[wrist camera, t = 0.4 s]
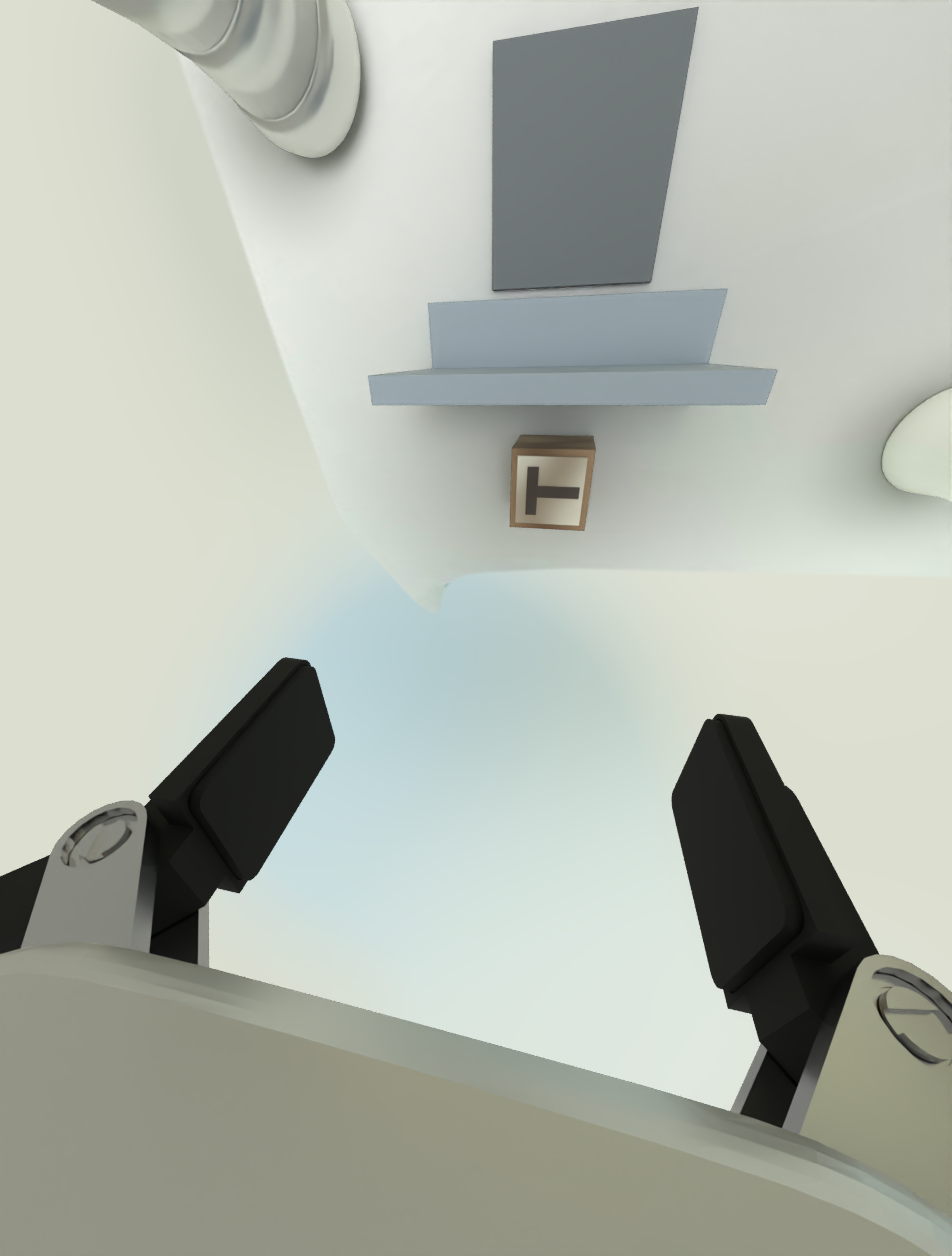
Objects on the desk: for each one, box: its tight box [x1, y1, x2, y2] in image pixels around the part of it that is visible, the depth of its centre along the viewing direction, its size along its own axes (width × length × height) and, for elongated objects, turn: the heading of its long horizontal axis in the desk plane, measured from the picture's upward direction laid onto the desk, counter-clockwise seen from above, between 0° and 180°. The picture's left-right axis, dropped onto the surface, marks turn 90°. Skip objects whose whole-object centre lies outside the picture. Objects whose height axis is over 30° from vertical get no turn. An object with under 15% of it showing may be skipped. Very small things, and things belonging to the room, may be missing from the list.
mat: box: [492, 7, 699, 291], centre depth 21 cm, size 9×9×1 cm
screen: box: [368, 289, 777, 405], centre depth 21 cm, size 17×5×11 cm, turn 91°
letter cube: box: [510, 435, 596, 531], centre depth 28 cm, size 5×5×5 cm
